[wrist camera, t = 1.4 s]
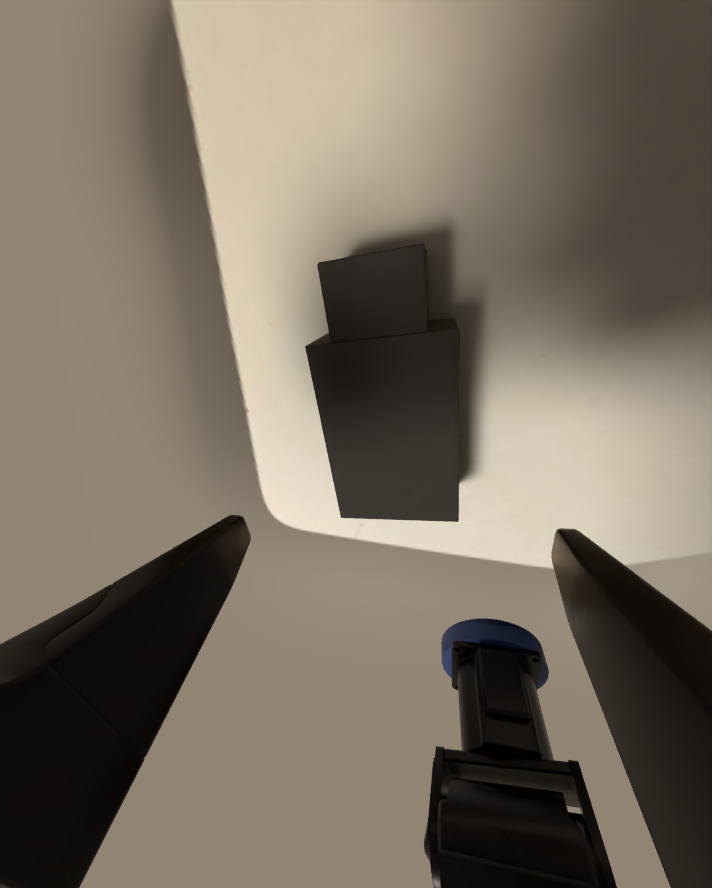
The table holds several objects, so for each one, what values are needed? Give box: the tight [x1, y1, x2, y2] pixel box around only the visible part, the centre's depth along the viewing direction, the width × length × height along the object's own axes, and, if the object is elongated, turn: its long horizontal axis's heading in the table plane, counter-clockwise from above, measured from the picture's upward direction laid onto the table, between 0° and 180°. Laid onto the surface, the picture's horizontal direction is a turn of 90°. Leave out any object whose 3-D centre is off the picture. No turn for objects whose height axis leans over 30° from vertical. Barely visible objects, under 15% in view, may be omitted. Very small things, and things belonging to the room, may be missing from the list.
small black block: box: [306, 243, 460, 522], centre depth 15 cm, size 6×12×3 cm, turn 8°
